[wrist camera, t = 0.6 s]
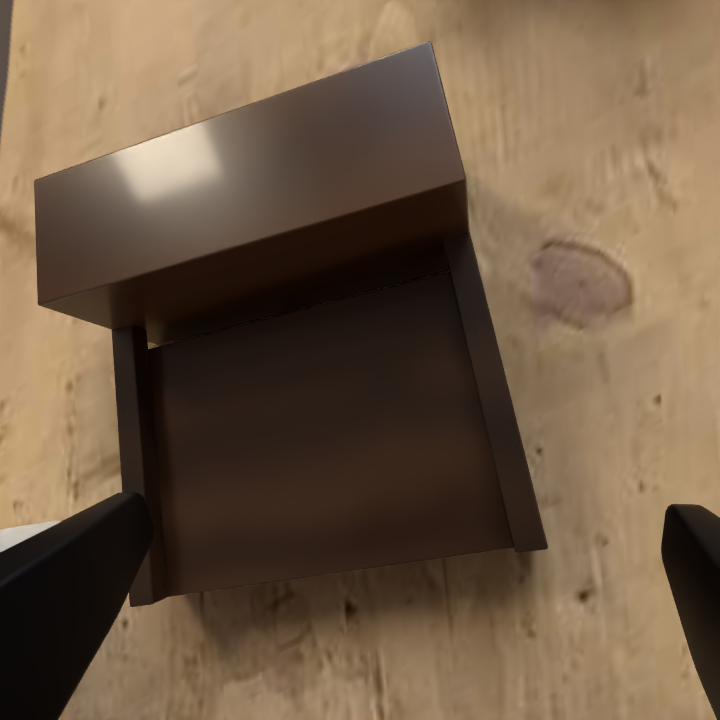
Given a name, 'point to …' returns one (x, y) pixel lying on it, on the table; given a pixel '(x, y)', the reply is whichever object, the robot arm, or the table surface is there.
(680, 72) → the table surface
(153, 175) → the step shelf
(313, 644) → the table surface
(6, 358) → the table surface
